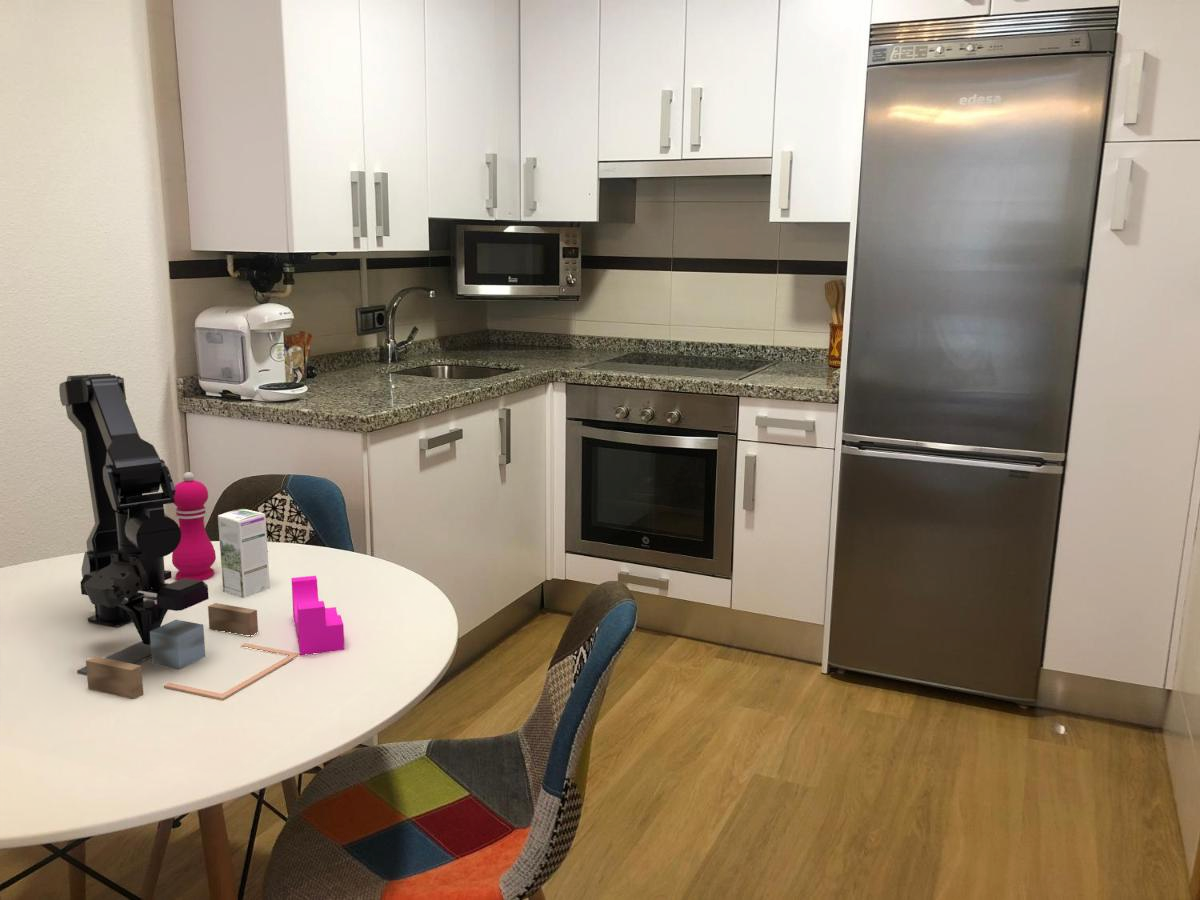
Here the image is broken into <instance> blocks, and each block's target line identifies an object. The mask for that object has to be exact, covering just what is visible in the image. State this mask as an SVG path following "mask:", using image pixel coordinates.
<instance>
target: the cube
mask: <svg viewBox="0 0 1200 900" xmlns="http://www.w3.org/2000/svg"><path fill="white" fill-rule="evenodd" d="M204 629H205V628H204V624H202V623H197V622H191V621H187V620H181V619H174V620H172V621H170V622H168V623H165V624H163V625H161V626H160V627H158V628H156V629H154V630H152V631H150V641H151V654H152V657H151V664H152V665H156V666H161V667H166V668H172V669H175V670H181V669H183V668H185V667H187V666H190V665H192V664H194V663H196V662H198V661H199V660H201V659H203V658H206V648H205V647H206V644H205V630H204Z"/></svg>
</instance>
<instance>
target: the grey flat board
mask: <svg viewBox="0 0 1200 900" xmlns="http://www.w3.org/2000/svg"><path fill="white" fill-rule="evenodd" d="M104 658H107V659H111V660H116V661H121V662H126V663H131V664H136V665H138V664H139V663H142V662H143V661H145V660H146V659H149V658H152V654H151V644H150V645H146V644H144V643H143V641H142V640H141V641H139V642H136V643H134V644H132V645H130V646H128V647H125V648H124V649H121V650H119V651H117V652H115V653H113V654H110V655H107V656H105V657H104ZM76 674H79V675H85V676H87V669H86V665H85V666H83V667H81V668H80V669H77V670H76Z"/></svg>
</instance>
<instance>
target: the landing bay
mask: <svg viewBox="0 0 1200 900" xmlns="http://www.w3.org/2000/svg"><path fill="white" fill-rule="evenodd" d="M241 646H242V647H248V648H252V649H257V650H263V651H268V652H272V653H271V654H273V653H279V654H284V655H288V656H285V657H284V658H282V659H281V660H279V661H277V662H276V663H274V664H272V665H270V666H269V667H267V668H265V669H263V670H261V671H260V672H258V673H256V674H254V675H253V676H251V677H249V678H248V679H245V680H244V681H242V682H241V683H238V684H237V685H235V686H233V687H231V688H229V690H228V689H227V690H226V691H224V692H223V693H220V692H215V691H211V690H206V689H201V688H197V687H191V686H188V685H187V686H186V685H183V684H178V683H172V682H168V683H166V684H164V685H163V689H169V690H173V691H179V692H182V693H187V694H192V695H196V696H197V695H198V696H201V697H206V698H211V699H216V700H221V701H224V700H226V699H228V698H230V697H231V696H233V695H234V694H237V693H238V692H240V691H242V690H243V689H245V688H247V687H248V686H250V685H252V684H254V683H256V682H258V681H259V680H261V679H262V678H264V677H266V676H267V675H270V674H271V673H273V672H275V671H276V670H278V669H280V668H281V667H283V666H285V665H286V663H287V664H288V663H290V662H292V661H293V660H294V659H293V658H295V657H297V656H298V655H300V652H293V651H290V650H289V651H288V650H282V649H279V648H272V647H267V646H262V645H256V644H250V643H242V644H241V645H240V647H241ZM252 649H251V650H252ZM257 650H256V651H257ZM268 652H267V653H268ZM298 657H299V656H298ZM298 657H297V658H298ZM292 659H293V660H292ZM295 659H296V658H295ZM291 660H292V661H291ZM289 661H290V662H289ZM284 664H285V665H284Z"/></svg>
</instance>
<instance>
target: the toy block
mask: <svg viewBox="0 0 1200 900" xmlns="http://www.w3.org/2000/svg"><path fill="white" fill-rule="evenodd" d="M291 593H292V594H291V598H292V614H293V615H292V616H293V618H294V619H293V622H294V623H295V624H294V627H295V628H296V629H295V628H294V629H295V632H296V634H295V635H296V640H297V639H298V640H297V644H299V645H298V649H299V653H300V655H305V654H312V655H314V654H313V653H318V654H324V653H323V652H325V653H330V651H332V652H337V651H344V650H345V632H344V622H343V619H342V615H341V614H338V611H337V607H336V606H334V607H333V606H332V607H326V605H325V602H324V600H319V590H318V577H317V575H309V576H306V575H305V576H297V577H291ZM305 656H306V655H305Z"/></svg>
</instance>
